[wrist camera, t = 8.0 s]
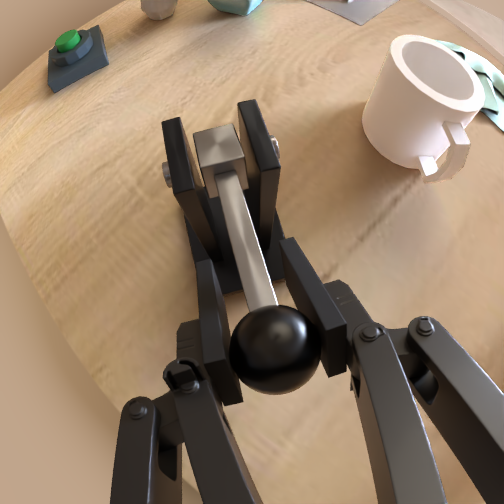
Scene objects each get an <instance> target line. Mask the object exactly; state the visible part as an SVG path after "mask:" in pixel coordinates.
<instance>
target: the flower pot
mask: <svg viewBox="0 0 504 504" xmlns="http://www.w3.org/2000/svg"><path fill="white" fill-rule="evenodd" d="M262 1H263V0H208V2H209V3H210V4H211V5H212V6H213V7H215V8H216V9H217V10H219V11H224V12H229V13H234V14H239V15H243V16H246V15H248V14H249V13H250V12H251V11H252V10H253V9H255V8H256V7H257V6H258V5H259V4H260V3H261V2H262Z"/></svg>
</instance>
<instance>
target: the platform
mask: <svg viewBox="0 0 504 504" xmlns="http://www.w3.org/2000/svg"><path fill="white" fill-rule="evenodd" d="M306 1H309V2H311V3H314V4H316V5H318V6H321V7H323V8H325V9H328V10H330V11H332V12H334V13H336V14H339V15H341V16H343V17H345V18H347V19H349V20H351V21H353V22H355V23H357V24H359V25H363V24H364V23H366V22H367V21H369V20H370V19H372V18H373V17H374V16H376V15H377V14H379V13H380V12H382V11H383V10H385V9H387V8H388V7H390V6H391V5H393V4H394V3H396V2H397V1H399V0H306Z"/></svg>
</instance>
